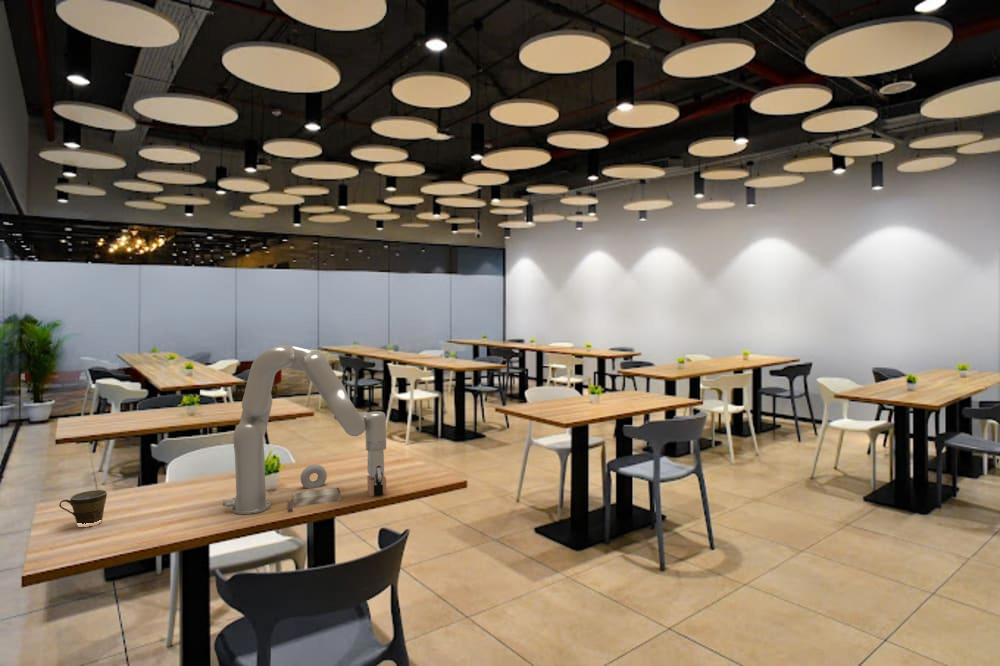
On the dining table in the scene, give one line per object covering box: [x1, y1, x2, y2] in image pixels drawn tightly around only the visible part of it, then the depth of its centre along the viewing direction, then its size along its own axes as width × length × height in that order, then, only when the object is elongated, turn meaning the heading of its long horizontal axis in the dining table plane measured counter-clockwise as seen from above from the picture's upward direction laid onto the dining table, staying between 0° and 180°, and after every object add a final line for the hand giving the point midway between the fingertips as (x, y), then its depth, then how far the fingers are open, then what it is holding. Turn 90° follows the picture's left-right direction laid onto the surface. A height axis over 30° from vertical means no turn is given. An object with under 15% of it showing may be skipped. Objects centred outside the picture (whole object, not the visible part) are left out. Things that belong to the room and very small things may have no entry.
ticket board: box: [286, 487, 342, 513], centre depth 213 cm, size 36×10×4 cm, turn 111°
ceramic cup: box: [58, 489, 108, 524], centre depth 192 cm, size 13×10×10 cm
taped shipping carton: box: [366, 475, 387, 497], centre depth 218 cm, size 6×6×6 cm
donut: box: [300, 464, 328, 489], centre depth 227 cm, size 10×4×10 cm, turn 121°
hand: (377, 492), depth 218 cm, fingers closed on taped shipping carton, 6 cm apart
